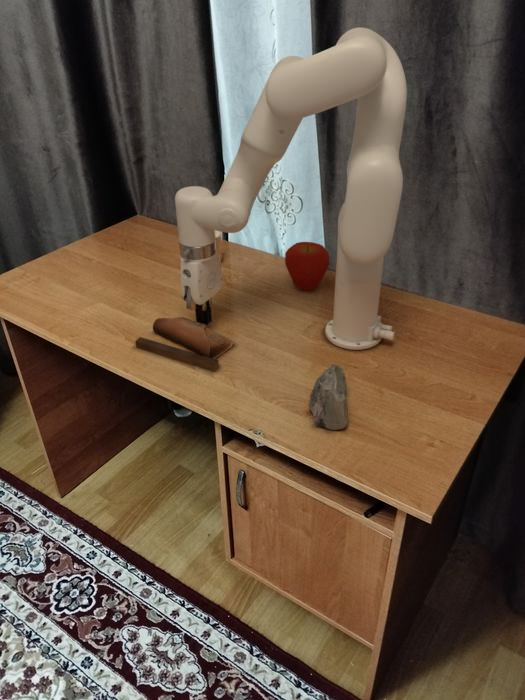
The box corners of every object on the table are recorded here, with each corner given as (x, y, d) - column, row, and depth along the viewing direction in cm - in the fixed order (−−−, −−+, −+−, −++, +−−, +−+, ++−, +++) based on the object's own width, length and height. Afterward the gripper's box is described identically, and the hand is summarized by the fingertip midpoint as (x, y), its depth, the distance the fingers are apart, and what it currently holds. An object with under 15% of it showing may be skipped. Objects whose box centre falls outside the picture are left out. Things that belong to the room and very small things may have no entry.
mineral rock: (329, 379, 115) (332, 338, 109) (376, 401, 109) (381, 359, 104) (289, 413, 107) (290, 370, 102) (337, 438, 102) (340, 395, 96)
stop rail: (219, 367, 120) (218, 360, 118) (214, 371, 118) (213, 364, 117) (141, 343, 127) (140, 336, 126) (136, 347, 126) (135, 340, 125)
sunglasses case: (237, 342, 126) (225, 326, 120) (219, 368, 124) (206, 354, 119) (179, 316, 135) (165, 301, 130) (162, 340, 133) (147, 326, 128)
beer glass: (203, 259, 160) (200, 225, 155) (221, 256, 162) (219, 222, 156) (206, 266, 157) (204, 231, 151) (225, 263, 158) (223, 229, 152)
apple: (278, 282, 149) (278, 238, 142) (316, 274, 152) (317, 231, 145) (295, 302, 140) (296, 257, 133) (335, 293, 143) (337, 249, 136)
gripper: (193, 266, 113) (200, 342, 124) (231, 237, 124) (235, 310, 134) (162, 258, 116) (171, 334, 127) (202, 231, 127) (207, 303, 137)
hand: (204, 321), depth 131 cm, fingers closed
